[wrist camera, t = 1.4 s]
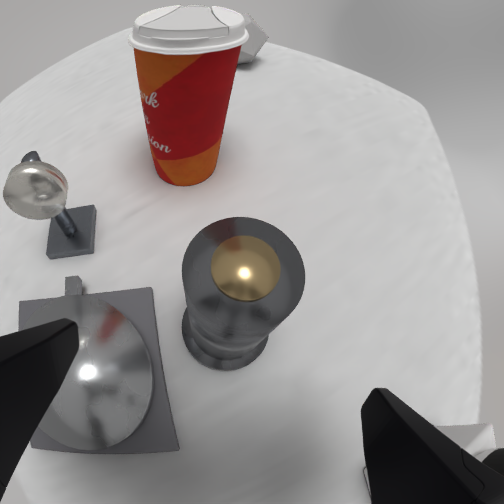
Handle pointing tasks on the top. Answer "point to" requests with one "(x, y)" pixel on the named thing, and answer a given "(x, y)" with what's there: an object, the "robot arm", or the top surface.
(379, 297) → the top surface
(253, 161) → the top surface
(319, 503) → the top surface
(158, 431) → the turntable base
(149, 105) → the paper cup
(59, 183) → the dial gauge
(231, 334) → the cylinder with brass cap
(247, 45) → the die
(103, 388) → the platter
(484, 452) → the medicine bottle
